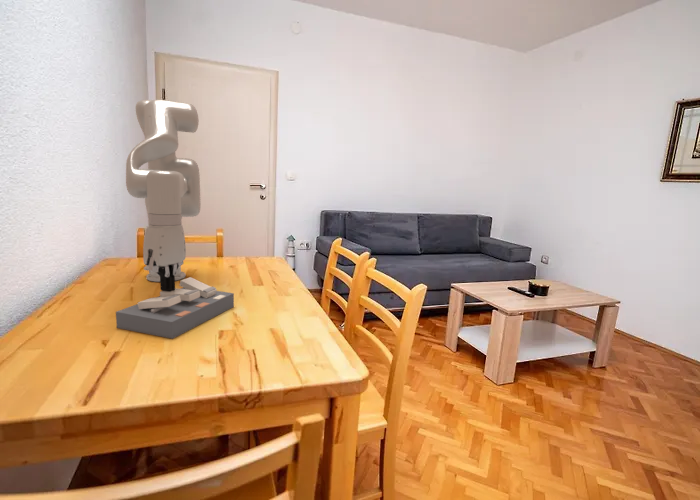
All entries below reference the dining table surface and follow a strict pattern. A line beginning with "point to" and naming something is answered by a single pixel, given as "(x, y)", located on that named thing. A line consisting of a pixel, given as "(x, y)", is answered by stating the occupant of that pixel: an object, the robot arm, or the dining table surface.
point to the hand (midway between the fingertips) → (167, 290)
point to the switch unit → (174, 315)
